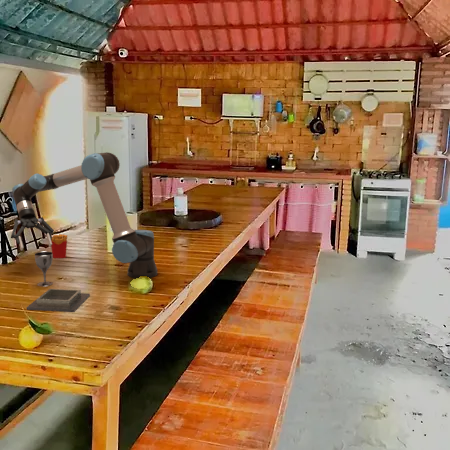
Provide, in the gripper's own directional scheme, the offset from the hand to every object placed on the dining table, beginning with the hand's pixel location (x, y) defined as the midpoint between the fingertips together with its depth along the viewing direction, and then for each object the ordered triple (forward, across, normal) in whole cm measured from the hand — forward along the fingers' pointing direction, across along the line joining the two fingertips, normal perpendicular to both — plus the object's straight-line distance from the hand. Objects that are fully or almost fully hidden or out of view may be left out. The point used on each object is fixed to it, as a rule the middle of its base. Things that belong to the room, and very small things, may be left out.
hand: (36, 247), depth 250 cm
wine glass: (+18, 0, -4) cm, 19 cm away
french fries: (-12, -22, -35) cm, 43 cm away
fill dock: (+38, +2, +16) cm, 41 cm away
